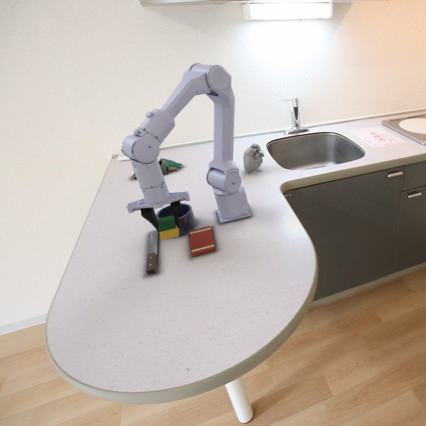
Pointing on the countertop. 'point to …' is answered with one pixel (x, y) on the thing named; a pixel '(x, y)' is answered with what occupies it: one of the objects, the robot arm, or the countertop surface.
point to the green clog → (166, 165)
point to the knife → (152, 253)
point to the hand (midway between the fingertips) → (169, 228)
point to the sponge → (168, 227)
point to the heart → (253, 158)
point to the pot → (180, 217)
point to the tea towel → (202, 241)
